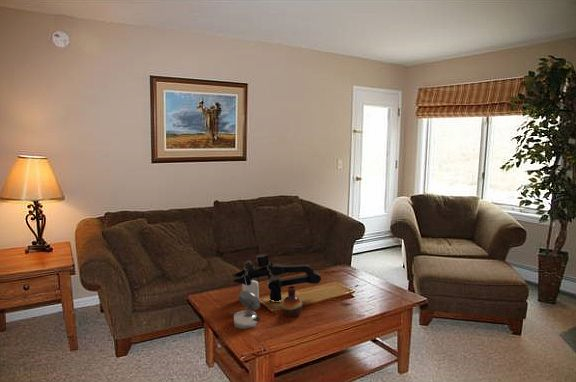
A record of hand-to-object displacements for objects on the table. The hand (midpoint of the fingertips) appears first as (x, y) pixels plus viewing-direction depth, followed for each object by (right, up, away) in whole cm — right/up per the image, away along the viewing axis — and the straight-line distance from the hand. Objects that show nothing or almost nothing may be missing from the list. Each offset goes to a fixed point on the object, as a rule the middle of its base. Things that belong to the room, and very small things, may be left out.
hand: (233, 278), depth 233 cm
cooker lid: (+11, -8, -21) cm, 25 cm away
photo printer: (+10, -15, +8) cm, 20 cm away
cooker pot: (+10, -19, -23) cm, 32 cm away
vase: (+35, -17, -14) cm, 41 cm away
